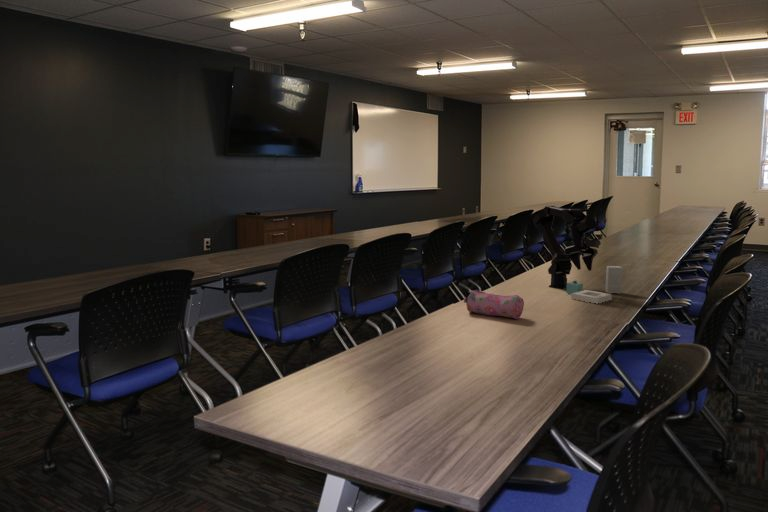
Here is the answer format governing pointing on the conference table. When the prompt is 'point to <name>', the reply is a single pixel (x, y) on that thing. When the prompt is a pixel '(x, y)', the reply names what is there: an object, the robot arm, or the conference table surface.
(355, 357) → the conference table surface
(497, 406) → the conference table surface
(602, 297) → the socket plate
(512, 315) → the pencil case
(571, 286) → the plug
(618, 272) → the skincare box
